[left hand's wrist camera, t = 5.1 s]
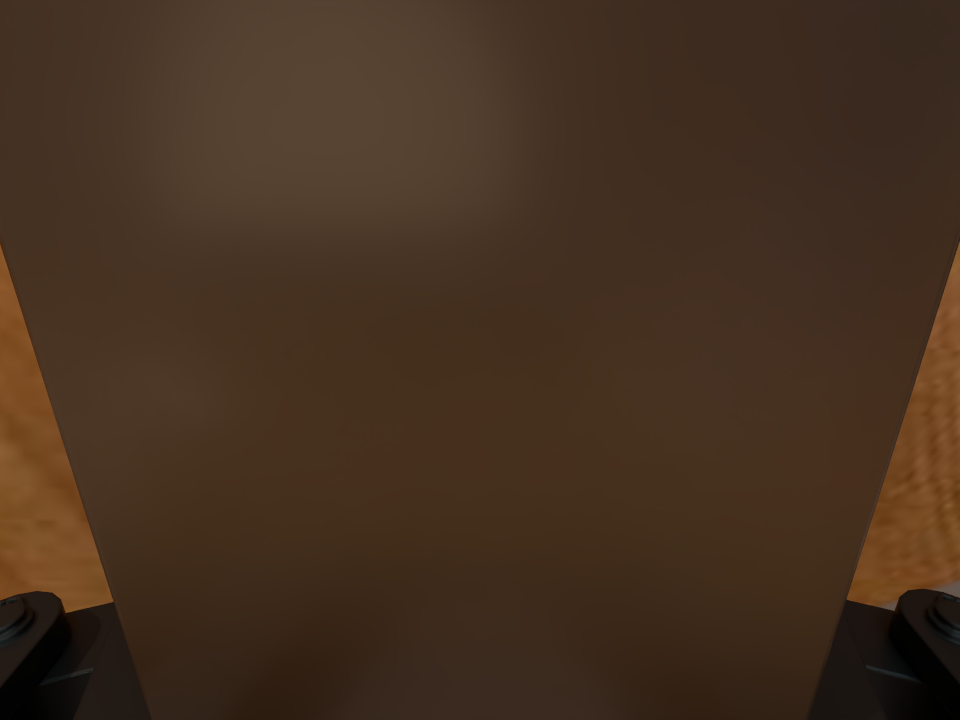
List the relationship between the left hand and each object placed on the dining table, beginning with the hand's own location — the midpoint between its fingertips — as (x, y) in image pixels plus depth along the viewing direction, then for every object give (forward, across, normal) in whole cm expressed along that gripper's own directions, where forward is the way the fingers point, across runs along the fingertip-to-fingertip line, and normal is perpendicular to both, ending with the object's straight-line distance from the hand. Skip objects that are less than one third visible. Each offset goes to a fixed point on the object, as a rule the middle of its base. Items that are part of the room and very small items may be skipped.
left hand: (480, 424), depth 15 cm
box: (+2, 0, -7) cm, 7 cm away
